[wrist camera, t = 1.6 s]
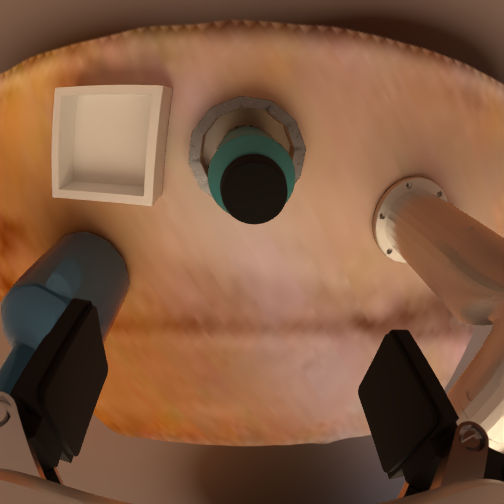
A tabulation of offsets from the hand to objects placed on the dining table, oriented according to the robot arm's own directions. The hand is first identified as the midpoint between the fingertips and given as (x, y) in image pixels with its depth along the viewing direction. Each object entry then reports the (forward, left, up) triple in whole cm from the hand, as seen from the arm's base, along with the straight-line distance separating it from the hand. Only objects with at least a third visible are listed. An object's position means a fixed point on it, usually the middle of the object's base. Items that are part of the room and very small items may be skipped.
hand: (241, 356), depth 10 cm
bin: (+15, -2, -30) cm, 34 cm away
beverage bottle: (-1, -2, -30) cm, 30 cm away
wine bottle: (+19, +17, -30) cm, 40 cm away
